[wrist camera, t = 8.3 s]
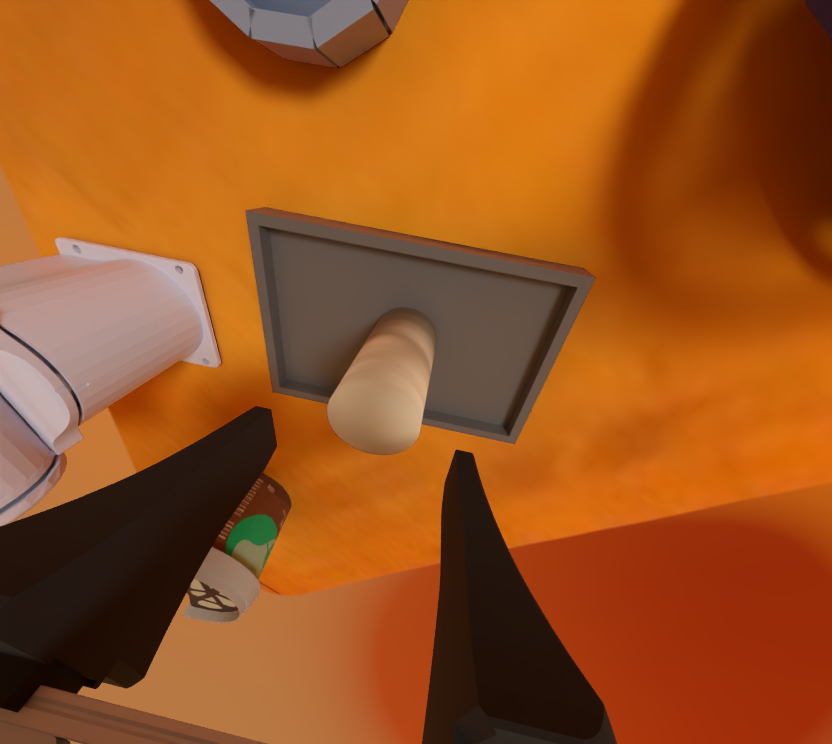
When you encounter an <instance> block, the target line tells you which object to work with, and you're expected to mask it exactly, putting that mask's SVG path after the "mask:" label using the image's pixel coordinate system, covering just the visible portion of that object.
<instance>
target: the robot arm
mask: <svg viewBox="0 0 832 744" xmlns="http://www.w3.org/2000/svg"><path fill="white" fill-rule="evenodd" d="M55 243H56V246H57V248H58V250H59V252H60V254H59V255H54V256H49V257H43V258H39V259H33V260H28V261H23V262H18V263H13V264H8V265H3V266H0V744H70V741H68V740H71V741H74V742H79V743H82V744H265V743H262V742H258V741H254V740H250V739H247V738H243V737H239V736H235V735H231V734H227V733H224V732H220V731H216V730H212V729H208V728H205V727H201V726H196V725H193V724H189V723H185V722H181V721H177V720H174V719H170V718H166V717H162V716H158V715H154V714H150V713H147V712H143V711H139V710H135V709H131V708H127V707H124V706H120V705H116V704H112V703H108V702H104V701H101V700H97V699H93V698H89V697H85V696H81V695H78V694H77V693H78V691H79V690H80V689H81V688H82V686H86V687H89V688H93V689H96V688H98V687H99V686H100V684H101V683H102V682H103V683H107V684H112V685H115V686H119V687H123V688H129V687H131V686H133V685H134V684H136V683H137V682H139V681H140V680H142V679H143V678H144V677H145V675H146V673H147V671H148V669H149V666H150V664H151V662H152V660H153V658H154V656H155V654H156V652H157V650H158V648H159V645H160V643H161V641H162V639H163V637H164V635H165V633H166V631H167V629H168V627H169V625H170V623H171V621H172V619H173V617H174V615H175V613H176V611H177V610H178V608H179V606H180V604H181V602H182V600H183V598H184V596H185V594H186V592H187V590H188V589H189V587H190V585H191V583H192V581H193V579H194V578H195V576H196V574H197V572H198V570H199V569H200V567H201V565H202V563H203V561H204V560H205V558H206V556H207V555H208V553H209V551H210V549H211V548H212V546H213V544H214V543H215V541H216V539H217V537H218V536H219V534H220V533H221V531H222V530H223V528H224V527H225V525H226V523H227V522H228V521H229V519H230V518H231V516H232V515H233V514H234V512H235V511H236V509H237V508H238V507H239V505H240V504H241V502H242V501H243V499H244V498H245V497H246V495H247V494H248V492H249V491H250V490H251V488H252V487H253V485H254V484H255V482H256V481H257V480H258V478H259V477H260V475H261V474H262V472H263V471H264V469H265V468H266V466H267V464H268V462H269V460H270V458H271V457H272V455H273V453H274V451H275V449H276V447H277V443H276V437H275V430H274V424H273V418H272V412H271V409H267V408H262V407H257V406H255V407H254V408H252V409H250V410H249V411H247V412H245V413H244V414H242V415H240V416H239V417H237V418H235V419H234V420H232V421H231V422H229V423H227V424H226V425H224V426H222V427H221V428H219V429H217V430H216V431H214V432H212V433H211V434H209V435H207V436H206V437H204V438H202V439H201V440H199V441H197V442H195V443H194V444H192V445H190V446H188V447H186V448H184V449H183V450H181V451H179V452H177V453H175V454H173V455H172V456H170V457H168V458H166V459H164V460H162V461H160V462H158V463H156V464H154V465H152V466H150V467H148V468H146V469H144V470H142V471H140V472H138V473H136V474H134V475H132V476H129V477H127V478H125V479H123V480H121V481H118V482H116V483H114V484H111V485H109V486H107V487H104V488H102V489H99V490H97V491H95V492H92V493H90V494H87V495H85V496H83V497H80V498H78V499H75V500H73V501H70V502H68V503H65V504H62V505H60V506H57V507H54V508H52V509H49V510H46V511H44V512H40V513H38V514H35V515H32V516H29V517H27V518H24V519H21V520H18V521H15V520H16V519H18V518H19V517H21V516H22V515H24V514H25V513H26V512H27V511H29V510H30V509H31V508H33V507H34V506H35V505H36V504H37V503H38V502H39V501H40V500H41V499H42V498H43V497H44V496H45V495H46V494H47V493H48V492H49V491H50V490H51V489H52V488H53V487H54V486H55V485H56V483H57V482H58V481H59V479H60V478H61V476H62V475H63V473H64V471H65V468H66V465H67V459H66V456H65V454H64V451H66V450H67V449H69V448H70V447H71V446H73V445H75V444H76V443H77V442H79V441H80V440H82V439H83V435H82V434H81V433H80V431H79V429H78V426H79V425H81V424H82V423H84V422H85V421H87V420H88V419H90V418H91V417H93V416H94V415H96V414H98V413H99V412H101V411H102V410H104V409H105V408H107V407H109V406H110V405H112V404H113V403H115V402H116V401H118V400H119V399H121V398H123V397H124V396H126V395H127V394H129V393H130V392H132V391H133V390H135V389H136V388H138V387H140V386H141V385H143V384H144V383H146V382H147V381H149V380H150V379H152V378H154V377H155V376H157V375H158V374H160V373H161V372H163V371H164V370H166V369H168V368H169V367H171V366H172V365H174V364H175V363H177V362H178V361H180V360H181V361H185V362H190V363H195V364H199V365H204V366H209V367H213V368H216V367H218V366H220V365H221V359H220V355H219V352H218V348H217V344H216V340H215V336H214V332H213V328H212V324H211V320H210V316H209V312H208V308H207V305H206V301H205V297H204V293H203V289H202V285H201V281H200V277H199V273H198V270H197V268H196V267H195V265H193V264H192V263H190V262H186V261H181V260H176V259H171V258H166V257H161V256H156V255H151V254H146V253H141V252H136V251H131V250H126V249H121V248H116V247H111V246H106V245H101V244H96V243H91V242H86V241H82V240H77V239H72V238H67V237H60V238H56V239H55ZM180 267H181V268H182V269H183V271H182V270H181V268H180ZM13 521H15V522H13ZM422 744H617V742H616V739H615V736H614V733H613V729H612V726H611V724H610V721H609V718H608V715H607V712H606V709H605V706H604V704H603V702H602V701H601V699H600V698H599V696H598V695H597V694H596V692H595V691H594V689H593V688H592V687H591V685H590V684H589V682H588V681H587V680H586V678H585V677H584V675H583V674H582V672H581V671H580V669H579V668H578V666H577V665H576V664H575V662H574V661H573V659H572V658H571V656H570V655H569V653H568V652H567V650H566V649H565V647H564V645H563V644H562V642H561V641H560V639H559V638H558V636H557V635H556V633H555V632H554V630H553V629H552V627H551V625H550V624H549V622H548V620H547V619H546V617H545V615H544V614H543V612H542V610H541V609H540V607H539V605H538V604H537V602H536V600H535V599H534V597H533V595H532V594H531V592H530V590H529V588H528V586H527V585H526V583H525V581H524V579H523V577H522V576H521V574H520V572H519V570H518V568H517V566H516V564H515V562H514V560H513V558H512V556H511V554H510V552H509V550H508V548H507V546H506V544H505V541H504V539H503V537H502V535H501V532H500V530H499V528H498V526H497V523H496V521H495V518H494V516H493V513H492V511H491V508H490V505H489V503H488V500H487V497H486V495H485V492H484V489H483V486H482V483H481V480H480V477H479V473H478V470H477V466H476V462H475V458H474V455H473V454H472V453H470V452H465V451H460V450H456V451H455V454H454V457H453V460H452V463H451V466H450V469H449V472H448V475H447V478H446V481H445V485H444V493H443V502H442V514H441V574H440V591H439V601H438V611H437V622H436V631H435V639H434V649H433V658H432V667H431V675H430V684H429V693H428V701H427V709H426V716H425V724H424V733H423V741H422Z"/></svg>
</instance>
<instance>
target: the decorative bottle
mask: <svg viewBox="0 0 832 744" xmlns="http://www.w3.org/2000/svg"><path fill="white" fill-rule="evenodd" d="M806 5H807V6H808V8H809V9H810V10H811V12H812V13H813V15H814V16H815V17H816V19H817V20H818V22H819V23H820V24H821V26H822V27H823V29H824V30H825V32H826V33H827V34H828V36H829V37H830V39H831V40H832V0H806Z"/></svg>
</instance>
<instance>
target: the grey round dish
mask: <svg viewBox="0 0 832 744" xmlns="http://www.w3.org/2000/svg"><path fill="white" fill-rule="evenodd" d="M210 1H211V2H212V3H213V4H214V5H215V6H216V7H217V8H218V9H219V10H220V11H222V12H223V13H224V14H225V15H226V16H227V17H228V18H229V19H230V20H231V21H232V22H233V23H234V24H235V25H236V26H237V27H238V28H240V29H241V30H242V31H243V32H244V33H245V34H246V35H247V36H248V37H250V38H251V39H253V40H255V41H256V42H258V43H259V44H261V45H263V46H264V47H266V48H267V49H269V50H271V51H272V52H274V53H276V54H277V55H279V56H280V57H282V58H284V59H286V60H292V61H298V62H304V63H310V64H316V65H321V66H327V67H333V68H337V65H338V66H340V67H342V66H344V65H345V64H347V63H349V62H350V61H352V60H353V59H355V58H356V57H358V56H359V55H361V54H362V53H364V52H366V51H367V50H369V49H370V48H372V47H373V46H375V45H376V44H378V43H379V42H381V41H383V40H384V39H386V38H387V37H389V34H388V30H389V29H390V30H391V32H393V30H394V28H395V26H396V24H397V22H398V20H399V18H400V16H401V14H402V12H403V10H404V8H405V6H406V4H407V2H408V0H210Z"/></svg>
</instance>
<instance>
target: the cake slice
mask: <svg viewBox="0 0 832 744" xmlns="http://www.w3.org/2000/svg"><path fill="white" fill-rule="evenodd" d="M290 508H291V500H290V497H289V495H288V494H287V492H286V491H285V490H284V489H283V487H282V486H281V485H279V484H278V483H277V482H276V481H275V480H273V479H272V478H270V477H269V476H267V475H265V474H263V473H262V474H261V475H260V477H259V478H258V480H257V481H256V482H255V484H254V485H253V487H252V488H251V490H250V491H249V492H248V494H247V495H246V497H245V498H244V499H243V501H242V502H241V504H240V505H239V507H238V508H237V509H236V511H235V512H234V514H233V515H232V516H231V518H230V519H229V521H228V522H227V523H226V525H225V527H224V528H223V530H222V531H221V533H220V534H219V536H218V537H217V539H216V541H215V543H214V544H213V546H212V548H211V549H210V551H209V553H208V555H207V556H206V558H205V560H204V561H203V563H202V565H201V567H200V569H199V570H198V572H197V574H196V576H195V578H194V579H193V581H192V583H191V585H190V587H189V589H188V590H187V592H186V593H188V595H189V597H190V603H189V605H188V607H187V608H186V610H185V612H184V613H183V616H186V617H189V618H193V619H197V620H202V621H207V622H215V623H230V622H234V621H236V620H238V619H239V618H240V616H241V615H242V613H245V612H246V611H247V610H248V608H249V607H250V606H251V604H252V603H253V602H254V600H255V599H256V598H257V596H258V595H259V593H260V591H261V586H260V584H259V581H258V579H259V576H260V574H261V572H262V570H263V568H264V565H265V563H266V561H267V559H268V557H269V554H270V552H271V550H272V548H273V545H274V543H275V541H276V539H277V537H278V534H279V532H280V530H281V528H282V526H283V523H284V521H285V519H286V517H287V514H288V512H289V510H290Z"/></svg>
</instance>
